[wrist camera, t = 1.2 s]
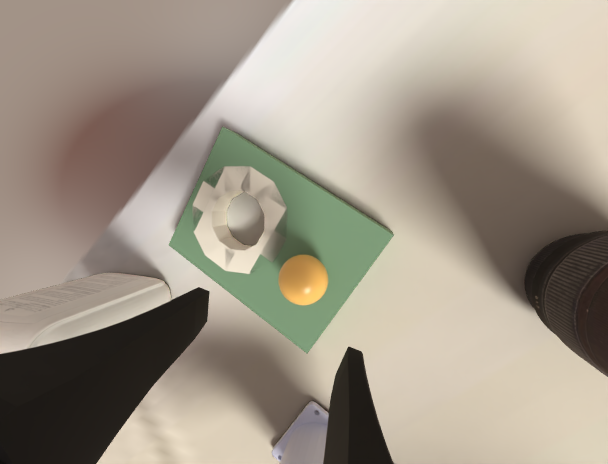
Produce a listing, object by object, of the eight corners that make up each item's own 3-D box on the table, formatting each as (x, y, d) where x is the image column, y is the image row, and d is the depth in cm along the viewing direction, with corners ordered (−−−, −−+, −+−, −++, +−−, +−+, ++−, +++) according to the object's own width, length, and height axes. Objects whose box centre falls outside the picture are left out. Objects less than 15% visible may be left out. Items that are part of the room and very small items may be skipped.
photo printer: (105, 303, 30) (-71, 369, 18) (102, 268, 29) (-82, 313, 18) (174, 314, 27) (18, 402, 15) (171, 276, 26) (7, 337, 15)
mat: (392, 231, 20) (393, 235, 17) (313, 339, 23) (307, 353, 21) (237, 133, 22) (222, 126, 20) (185, 241, 25) (168, 245, 23)
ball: (341, 267, 19) (333, 282, 15) (316, 303, 20) (304, 324, 16) (302, 241, 19) (286, 250, 16) (280, 276, 20) (261, 292, 17)
